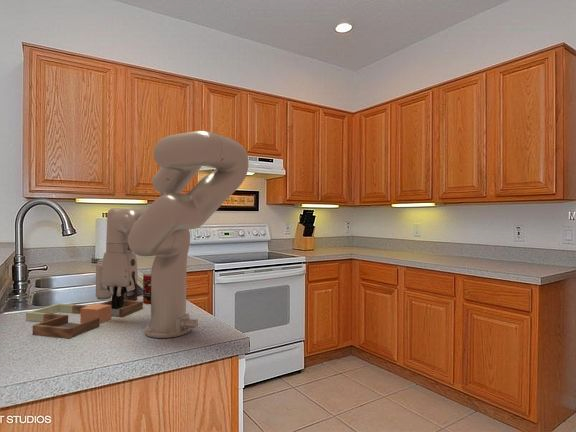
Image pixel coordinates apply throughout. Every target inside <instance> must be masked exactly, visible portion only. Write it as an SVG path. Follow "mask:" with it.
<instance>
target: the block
mask: <svg viewBox="0 0 576 432" xmlns="http://www.w3.org/2000/svg"><path fill="white" fill-rule="evenodd" d="M86 306H87V307H84V308H81V314H80V319H79V320H80V323H79V324H81V323H83V322H86V321H89V320H91V319H94V318H100V324H102V323H104V322H106V321H109V320H112V316H111V305H104V304H101V303H93V304H91V305H86Z"/></svg>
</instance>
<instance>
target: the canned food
mask: <svg viewBox="0 0 576 432" xmlns="http://www.w3.org/2000/svg"><path fill="white" fill-rule="evenodd" d="M142 277H143V278H142V288H143V289H142V301H143V304H146V305H151V271H146V272H144V273H143V275H142Z"/></svg>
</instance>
